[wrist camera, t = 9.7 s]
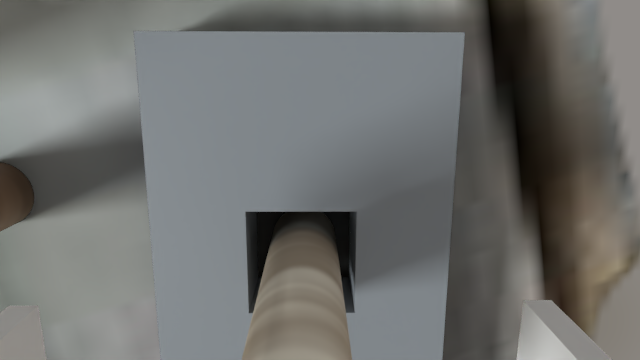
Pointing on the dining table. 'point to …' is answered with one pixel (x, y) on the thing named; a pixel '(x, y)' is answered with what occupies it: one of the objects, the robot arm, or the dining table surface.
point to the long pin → (300, 295)
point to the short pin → (14, 196)
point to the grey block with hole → (300, 175)
